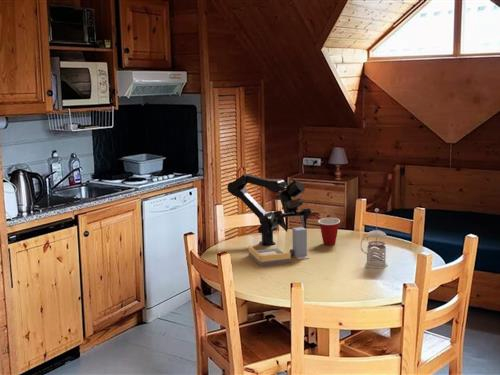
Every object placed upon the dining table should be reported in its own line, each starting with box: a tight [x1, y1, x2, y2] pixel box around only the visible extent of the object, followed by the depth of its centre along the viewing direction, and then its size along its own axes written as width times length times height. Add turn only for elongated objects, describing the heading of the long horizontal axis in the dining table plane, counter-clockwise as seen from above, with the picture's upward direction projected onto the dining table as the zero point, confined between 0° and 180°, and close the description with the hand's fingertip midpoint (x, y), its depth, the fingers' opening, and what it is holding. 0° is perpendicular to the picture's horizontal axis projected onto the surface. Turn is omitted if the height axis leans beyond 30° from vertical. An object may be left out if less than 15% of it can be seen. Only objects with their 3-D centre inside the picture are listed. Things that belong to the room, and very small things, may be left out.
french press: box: [360, 208, 389, 269], centre depth 253 cm, size 10×12×25 cm
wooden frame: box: [248, 245, 292, 267], centre depth 267 cm, size 18×14×4 cm
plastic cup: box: [317, 217, 341, 246], centre depth 289 cm, size 11×11×12 cm
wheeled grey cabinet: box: [289, 226, 310, 260], centre depth 269 cm, size 8×7×13 cm
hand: (296, 230), depth 273 cm, fingers open, 9 cm apart
